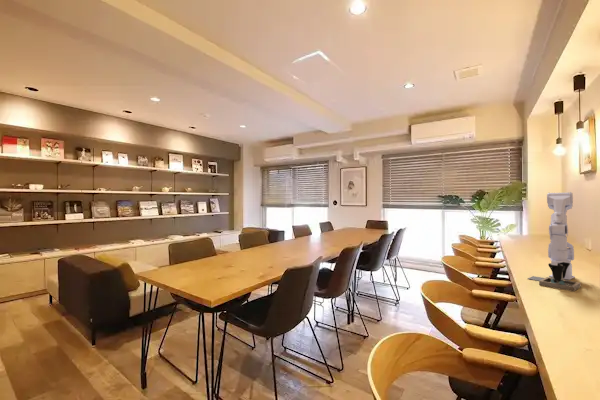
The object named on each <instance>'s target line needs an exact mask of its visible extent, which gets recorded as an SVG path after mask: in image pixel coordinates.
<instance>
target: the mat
mask: <svg viewBox="0 0 600 400" xmlns="http://www.w3.org/2000/svg"><path fill="white" fill-rule="evenodd" d="M544 278H545V277H541V276H535V275H532V276H529V277H528V278H527V280H530V281H535V282H539V281H540V280H542V279H544Z"/></svg>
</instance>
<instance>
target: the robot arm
mask: <svg viewBox="0 0 600 400" xmlns="http://www.w3.org/2000/svg"><path fill="white" fill-rule="evenodd" d="M573 202H574V196H573V192H571V191H570V192H548V193H546V203H547V208H548V210H549V209H550V210H552V211H553V213H551V215H550V224H549V225H548V234H549V240H550V243H548V247H547V248H548V249H547V256H548V258H549V259H550V262H551V263H550V262H549V263H548V267H549V268H551V269H550V270H551V274H550V275H548V276H549V278H552V273H553V276H554V279H555V280H561V278H562V272H563V279H564V280H567V281H571V280H572V279H574V278H575V275H573V265H572V261H574V260H575V250H574V245H573V244H572V243H570V242H569V241H568V236H569V226H568V216H567V213H568V210H572V209H573V207H574V206H573V204H574V203H573ZM560 264H561V265H562V266H561V265H560ZM564 268H565V270H564V271H563V269H564Z"/></svg>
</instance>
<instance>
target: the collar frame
mask: <svg viewBox="0 0 600 400" xmlns="http://www.w3.org/2000/svg"><path fill="white" fill-rule="evenodd" d="M543 278H544V279H542V280H540V281H538V283H539V284H538V285H539V286H543V287H547V288H553V289H558V290H564V291H570V292H575V291H577V290H579V288H581V287H582V284H581V282H578V281H572V280H567V279H564V281H565V283H566V284H565V285H562V284H557V283H551V279H552V277H543Z"/></svg>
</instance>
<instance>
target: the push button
mask: <svg viewBox="0 0 600 400" xmlns="http://www.w3.org/2000/svg"><path fill="white" fill-rule="evenodd" d="M560 265H561V264H560ZM561 266H562V265H561ZM549 268H550V267H549ZM550 270H551V268H550ZM564 270H565V268H564V269H563V271H564ZM551 275H552V277H551V278H552V279H551V283H557V284H562V285H565V284H566V283H565V281H564V280H565V279H563V272H562V278H561V280H555V279H554V276H553V273H552V272H551Z"/></svg>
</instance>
